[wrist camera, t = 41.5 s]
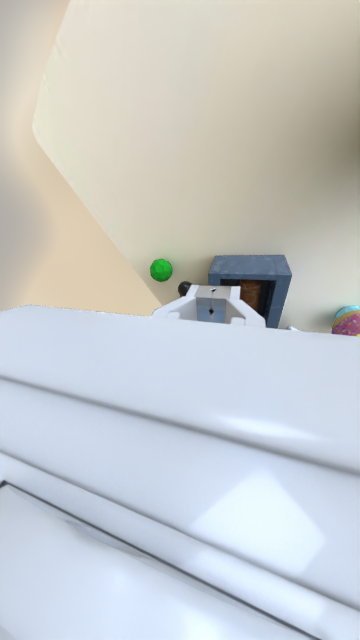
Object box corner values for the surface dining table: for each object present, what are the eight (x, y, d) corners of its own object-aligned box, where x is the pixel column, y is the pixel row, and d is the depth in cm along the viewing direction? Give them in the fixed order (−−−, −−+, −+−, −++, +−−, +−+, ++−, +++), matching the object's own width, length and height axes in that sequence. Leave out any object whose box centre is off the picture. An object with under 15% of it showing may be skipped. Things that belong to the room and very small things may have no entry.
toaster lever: (180, 280, 39) (176, 281, 36) (195, 281, 38) (191, 281, 35) (179, 334, 42) (174, 339, 39) (193, 336, 41) (189, 340, 38)
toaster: (284, 254, 35) (292, 274, 29) (263, 344, 50) (265, 371, 43) (215, 255, 39) (208, 273, 32) (214, 338, 53) (209, 362, 47)
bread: (224, 338, 49) (222, 353, 45) (238, 269, 37) (236, 282, 33) (249, 343, 48) (249, 359, 43) (272, 273, 36) (275, 287, 31)
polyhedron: (171, 254, 42) (163, 262, 38) (177, 274, 44) (170, 283, 41) (152, 258, 44) (143, 265, 40) (158, 277, 46) (150, 286, 43)
